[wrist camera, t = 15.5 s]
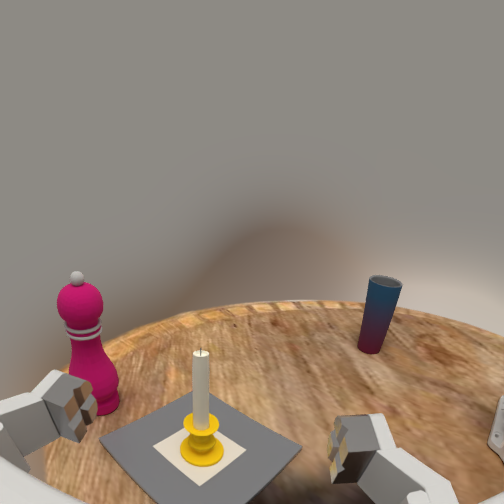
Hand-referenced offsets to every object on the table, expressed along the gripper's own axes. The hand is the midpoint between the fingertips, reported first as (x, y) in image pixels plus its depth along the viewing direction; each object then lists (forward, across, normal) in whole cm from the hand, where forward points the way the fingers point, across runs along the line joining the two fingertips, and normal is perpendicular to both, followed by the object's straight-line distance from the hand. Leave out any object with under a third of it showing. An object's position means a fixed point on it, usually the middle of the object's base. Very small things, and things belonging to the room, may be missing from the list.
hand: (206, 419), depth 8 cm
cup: (+46, -25, +26) cm, 58 cm away
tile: (+16, +4, +25) cm, 30 cm away
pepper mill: (+21, +20, +25) cm, 38 cm away
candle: (+16, +4, +24) cm, 29 cm away
